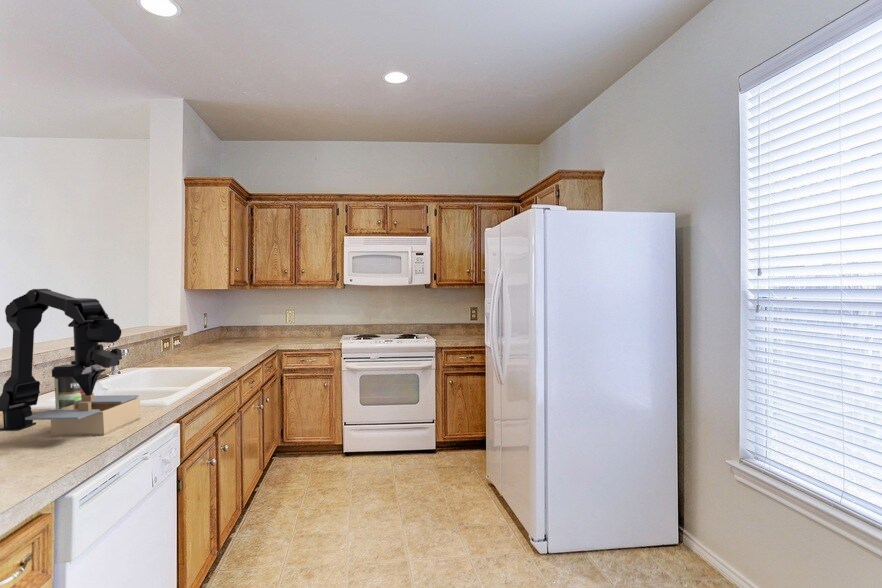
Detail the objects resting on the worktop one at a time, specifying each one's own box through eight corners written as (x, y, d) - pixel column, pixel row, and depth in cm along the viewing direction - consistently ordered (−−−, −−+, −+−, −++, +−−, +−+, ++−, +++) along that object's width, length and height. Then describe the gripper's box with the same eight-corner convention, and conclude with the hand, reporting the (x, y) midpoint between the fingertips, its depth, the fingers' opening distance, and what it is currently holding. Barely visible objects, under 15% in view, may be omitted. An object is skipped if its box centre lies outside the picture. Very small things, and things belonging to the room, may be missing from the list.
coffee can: (100, 410, 169) (98, 370, 168) (68, 418, 159) (66, 376, 159) (80, 407, 172) (78, 368, 172) (48, 415, 163) (46, 374, 162)
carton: (51, 435, 141) (50, 412, 141) (93, 419, 157) (92, 398, 157) (104, 435, 141) (103, 411, 140) (140, 419, 156) (139, 397, 156)
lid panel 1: (25, 419, 132) (24, 409, 132) (49, 411, 140) (49, 401, 140) (78, 419, 132) (77, 408, 132) (99, 411, 140) (99, 401, 139)
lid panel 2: (74, 403, 149) (73, 394, 149) (93, 397, 157) (92, 388, 157) (121, 403, 148) (121, 393, 148) (138, 397, 156) (138, 387, 156)
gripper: (88, 346, 130) (90, 403, 131) (135, 337, 149) (137, 387, 149) (48, 347, 131) (51, 403, 131) (100, 338, 149) (102, 388, 150)
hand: (88, 395), depth 140 cm, fingers closed
